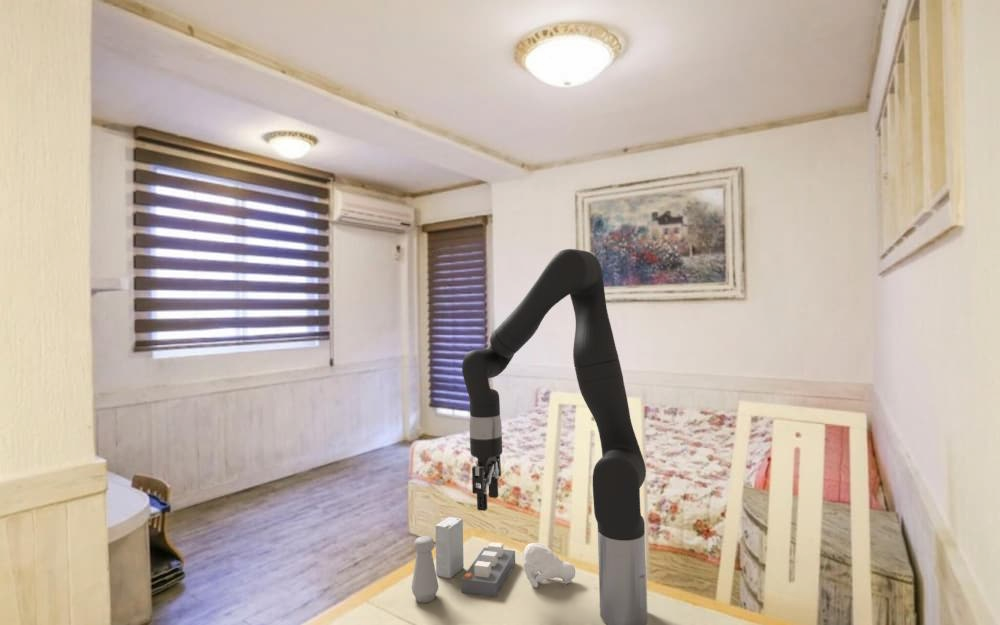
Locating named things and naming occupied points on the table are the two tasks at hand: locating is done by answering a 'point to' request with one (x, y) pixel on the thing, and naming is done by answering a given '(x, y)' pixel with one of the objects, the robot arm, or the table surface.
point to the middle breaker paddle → (490, 557)
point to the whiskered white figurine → (545, 565)
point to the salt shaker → (424, 571)
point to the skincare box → (449, 547)
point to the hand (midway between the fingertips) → (488, 503)
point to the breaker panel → (494, 577)
